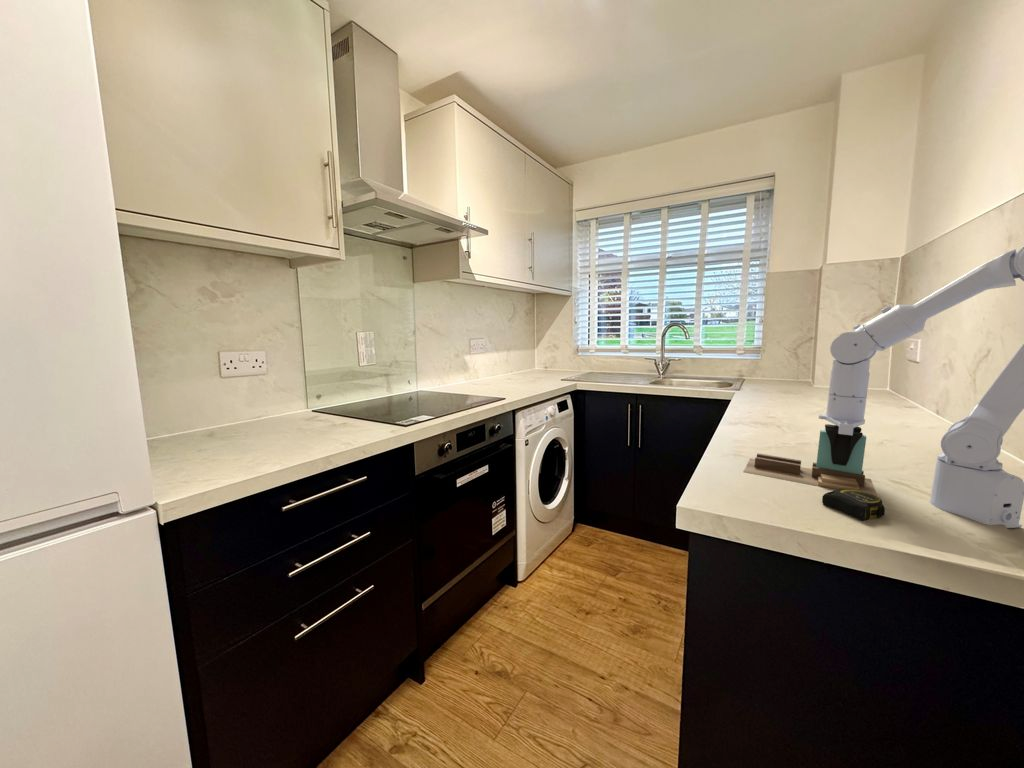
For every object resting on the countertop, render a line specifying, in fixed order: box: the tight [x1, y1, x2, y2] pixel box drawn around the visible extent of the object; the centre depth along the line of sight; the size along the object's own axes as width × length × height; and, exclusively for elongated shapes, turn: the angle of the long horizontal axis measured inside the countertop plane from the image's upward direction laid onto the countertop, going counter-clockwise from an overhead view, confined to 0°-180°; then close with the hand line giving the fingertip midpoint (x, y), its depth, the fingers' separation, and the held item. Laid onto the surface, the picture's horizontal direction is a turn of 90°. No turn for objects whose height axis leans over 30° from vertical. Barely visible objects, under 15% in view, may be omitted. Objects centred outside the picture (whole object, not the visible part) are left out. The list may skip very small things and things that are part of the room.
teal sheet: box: [815, 429, 867, 474], centre depth 81 cm, size 2×7×9 cm, turn 53°
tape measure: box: [821, 489, 886, 522], centre depth 68 cm, size 7×7×4 cm
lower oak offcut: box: [818, 477, 859, 490], centre depth 77 cm, size 3×6×1 cm, turn 54°
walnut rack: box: [743, 452, 878, 497], centre depth 83 cm, size 11×21×3 cm, turn 54°
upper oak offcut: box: [820, 474, 858, 488], centre depth 77 cm, size 3×5×1 cm, turn 59°
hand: (839, 462), depth 81 cm, fingers closed on teal sheet, 1 cm apart
